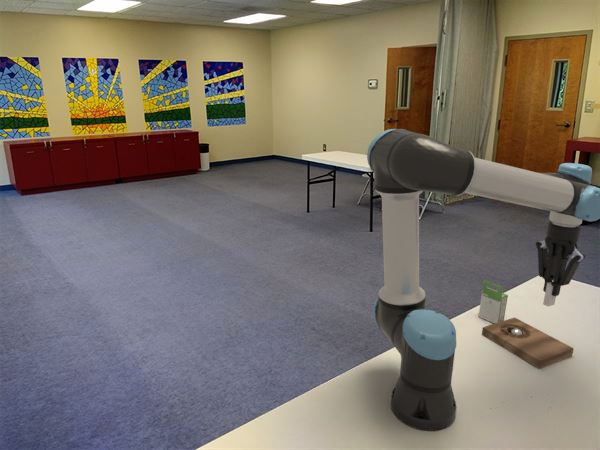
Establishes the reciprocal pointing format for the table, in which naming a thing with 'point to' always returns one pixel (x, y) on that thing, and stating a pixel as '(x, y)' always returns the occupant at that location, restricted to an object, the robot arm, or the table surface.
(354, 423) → the table surface
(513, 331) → the ball
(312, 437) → the table surface
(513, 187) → the robot arm
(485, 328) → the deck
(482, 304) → the ink box
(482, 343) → the table surface
